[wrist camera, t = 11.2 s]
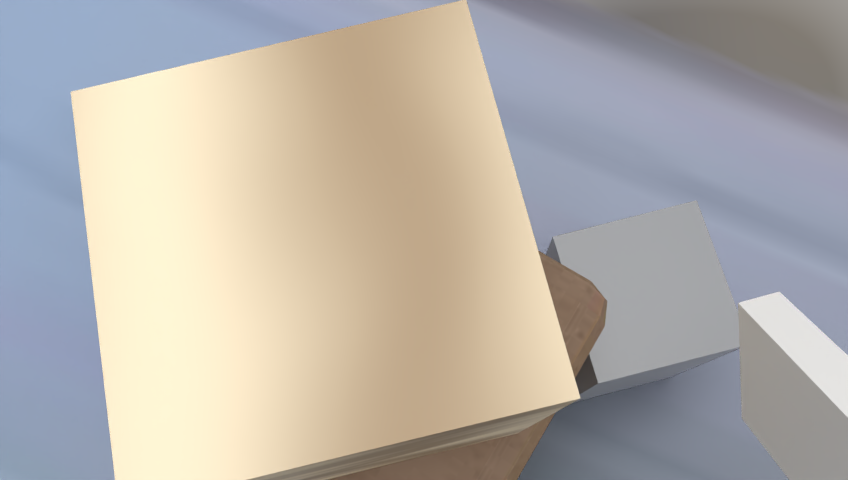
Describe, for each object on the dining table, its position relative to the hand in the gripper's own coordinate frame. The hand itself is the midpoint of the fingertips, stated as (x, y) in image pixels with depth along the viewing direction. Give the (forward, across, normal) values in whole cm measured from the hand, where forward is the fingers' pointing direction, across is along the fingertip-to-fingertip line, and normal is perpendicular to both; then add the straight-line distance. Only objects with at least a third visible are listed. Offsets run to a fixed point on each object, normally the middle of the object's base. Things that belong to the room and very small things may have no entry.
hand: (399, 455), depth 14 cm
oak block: (+8, 0, -3) cm, 8 cm away
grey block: (+22, +10, -16) cm, 30 cm away
